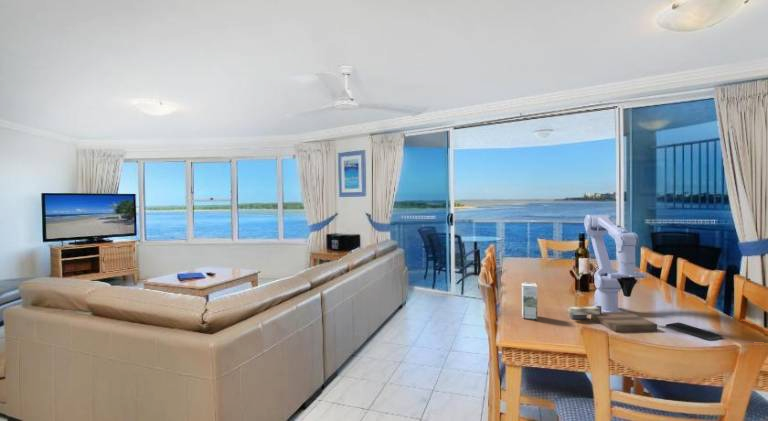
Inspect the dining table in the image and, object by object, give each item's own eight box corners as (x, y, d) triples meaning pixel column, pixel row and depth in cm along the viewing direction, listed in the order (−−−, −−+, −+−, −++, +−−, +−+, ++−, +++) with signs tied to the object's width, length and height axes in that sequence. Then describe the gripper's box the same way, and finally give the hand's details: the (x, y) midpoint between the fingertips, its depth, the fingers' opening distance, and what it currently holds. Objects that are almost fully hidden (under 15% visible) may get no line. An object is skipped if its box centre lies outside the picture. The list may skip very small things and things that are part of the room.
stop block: (569, 317, 151) (569, 309, 151) (583, 317, 151) (583, 309, 151) (572, 319, 149) (572, 311, 149) (586, 318, 149) (586, 310, 149)
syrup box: (535, 315, 154) (535, 282, 154) (537, 320, 149) (537, 285, 148) (521, 314, 156) (521, 281, 156) (523, 319, 150) (522, 284, 150)
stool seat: (591, 318, 149) (591, 312, 149) (628, 317, 150) (628, 311, 150) (615, 332, 134) (615, 325, 134) (657, 330, 135) (657, 324, 135)
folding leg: (599, 312, 149) (599, 305, 148) (602, 314, 146) (602, 307, 146) (567, 313, 149) (567, 305, 148) (570, 314, 146) (570, 307, 146)
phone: (708, 339, 125) (664, 324, 139) (708, 342, 125) (664, 327, 139) (724, 336, 127) (679, 322, 141) (724, 339, 127) (679, 324, 141)
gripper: (615, 264, 140) (616, 299, 141) (651, 263, 141) (652, 298, 141) (604, 261, 147) (604, 294, 148) (638, 261, 148) (638, 293, 148)
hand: (626, 296), depth 145 cm, fingers closed
